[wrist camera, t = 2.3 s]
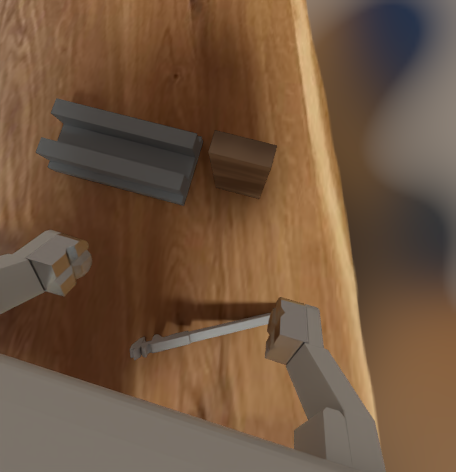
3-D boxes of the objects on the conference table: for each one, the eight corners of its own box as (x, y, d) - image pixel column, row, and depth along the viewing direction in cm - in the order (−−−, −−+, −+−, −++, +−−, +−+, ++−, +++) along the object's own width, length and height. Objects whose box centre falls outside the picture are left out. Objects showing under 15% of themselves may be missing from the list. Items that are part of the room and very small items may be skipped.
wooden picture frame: (259, 198, 34) (271, 168, 23) (216, 187, 35) (208, 152, 24) (263, 182, 34) (277, 143, 24) (221, 171, 35) (215, 128, 24)
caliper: (143, 344, 32) (121, 363, 26) (141, 336, 33) (120, 353, 26) (290, 316, 32) (303, 328, 26) (288, 308, 33) (301, 318, 26)
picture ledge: (183, 205, 34) (177, 197, 30) (55, 171, 35) (32, 159, 31) (203, 142, 35) (199, 126, 31) (77, 110, 36) (58, 91, 32)
